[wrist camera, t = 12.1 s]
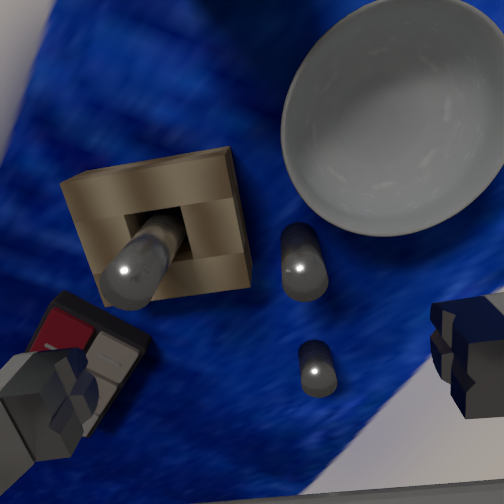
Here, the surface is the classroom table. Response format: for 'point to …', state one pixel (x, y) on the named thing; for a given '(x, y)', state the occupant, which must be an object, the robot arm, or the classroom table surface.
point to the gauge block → (159, 197)
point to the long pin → (144, 261)
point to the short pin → (316, 369)
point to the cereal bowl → (397, 116)
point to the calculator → (92, 345)
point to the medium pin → (302, 263)
